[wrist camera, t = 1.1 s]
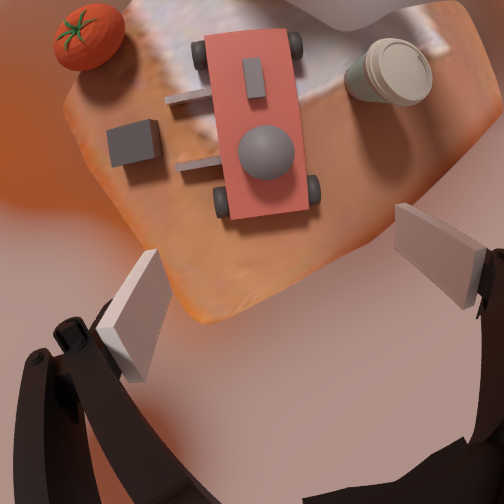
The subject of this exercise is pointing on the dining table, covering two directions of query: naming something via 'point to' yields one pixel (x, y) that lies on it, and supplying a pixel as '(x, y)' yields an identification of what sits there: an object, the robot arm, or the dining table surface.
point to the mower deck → (257, 122)
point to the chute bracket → (187, 98)
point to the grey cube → (134, 142)
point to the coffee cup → (390, 74)
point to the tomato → (89, 37)
